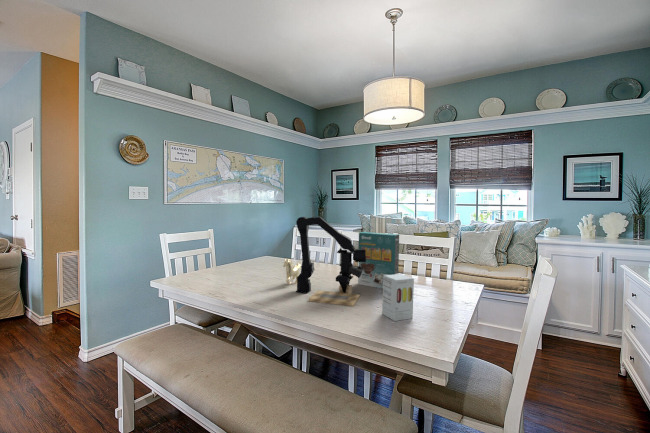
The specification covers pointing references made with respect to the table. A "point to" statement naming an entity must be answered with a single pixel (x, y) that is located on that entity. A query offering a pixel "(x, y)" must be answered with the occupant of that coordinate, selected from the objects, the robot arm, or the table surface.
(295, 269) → the unicorn
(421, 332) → the table surface
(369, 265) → the cake mix box
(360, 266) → the robot arm
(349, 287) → the block
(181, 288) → the table surface
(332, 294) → the board
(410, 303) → the supplement box
